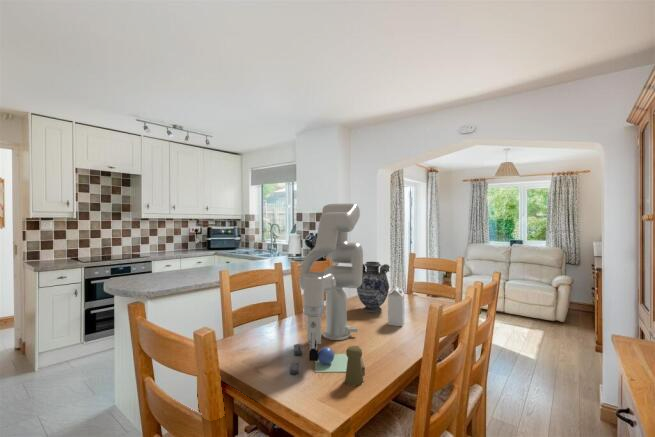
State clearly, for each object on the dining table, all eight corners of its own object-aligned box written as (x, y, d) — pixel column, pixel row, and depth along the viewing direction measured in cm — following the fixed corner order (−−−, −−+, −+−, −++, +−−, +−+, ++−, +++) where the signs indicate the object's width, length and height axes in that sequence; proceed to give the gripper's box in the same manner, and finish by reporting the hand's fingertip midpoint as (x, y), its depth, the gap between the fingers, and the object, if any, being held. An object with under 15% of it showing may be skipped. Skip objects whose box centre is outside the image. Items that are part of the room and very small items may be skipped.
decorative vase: (348, 310, 179) (348, 262, 179) (363, 304, 194) (364, 259, 194) (382, 317, 167) (383, 265, 167) (395, 309, 182) (396, 262, 182)
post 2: (299, 371, 108) (299, 361, 108) (298, 375, 105) (298, 365, 105) (290, 371, 108) (290, 361, 108) (289, 375, 105) (289, 365, 105)
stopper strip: (358, 352, 123) (358, 345, 123) (364, 374, 105) (364, 367, 105) (353, 352, 123) (353, 345, 123) (358, 374, 105) (358, 367, 105)
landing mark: (351, 354, 121) (351, 353, 121) (355, 371, 107) (355, 371, 107) (315, 354, 121) (315, 354, 121) (314, 372, 107) (314, 371, 107)
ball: (324, 361, 117) (337, 353, 116) (323, 371, 111) (337, 362, 110) (315, 349, 116) (328, 340, 116) (314, 357, 110) (328, 349, 110)
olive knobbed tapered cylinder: (343, 376, 104) (343, 344, 104) (361, 376, 104) (361, 343, 104) (346, 386, 98) (346, 351, 98) (365, 385, 98) (365, 350, 98)
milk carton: (387, 325, 155) (387, 287, 155) (390, 320, 161) (390, 284, 161) (402, 327, 152) (402, 288, 152) (404, 322, 158) (404, 285, 159)
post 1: (302, 352, 123) (302, 343, 123) (301, 356, 120) (301, 347, 120) (294, 352, 123) (294, 344, 123) (293, 356, 120) (293, 347, 120)
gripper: (323, 315, 106) (323, 369, 106) (324, 304, 121) (323, 351, 121) (302, 315, 106) (301, 369, 106) (304, 304, 121) (304, 351, 121)
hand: (313, 359), depth 113 cm, fingers closed
